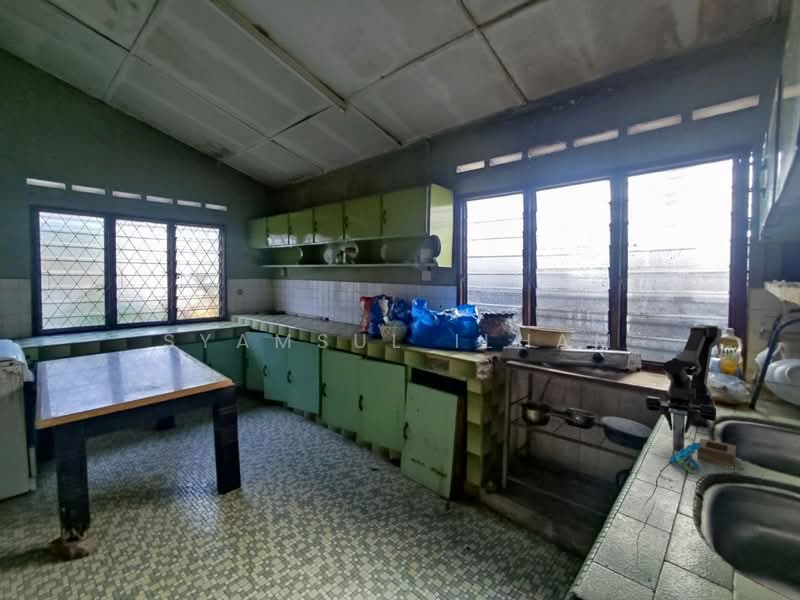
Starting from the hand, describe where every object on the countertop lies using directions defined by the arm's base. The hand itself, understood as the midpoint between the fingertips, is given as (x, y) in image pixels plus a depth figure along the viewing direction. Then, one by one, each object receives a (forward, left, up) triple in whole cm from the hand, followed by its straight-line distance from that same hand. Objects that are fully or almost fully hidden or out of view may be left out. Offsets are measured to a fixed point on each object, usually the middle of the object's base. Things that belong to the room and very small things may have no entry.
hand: (678, 431), depth 118 cm
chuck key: (-1, 0, -7) cm, 7 cm away
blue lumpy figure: (+10, +3, -7) cm, 12 cm away
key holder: (-1, +9, -7) cm, 11 cm away
